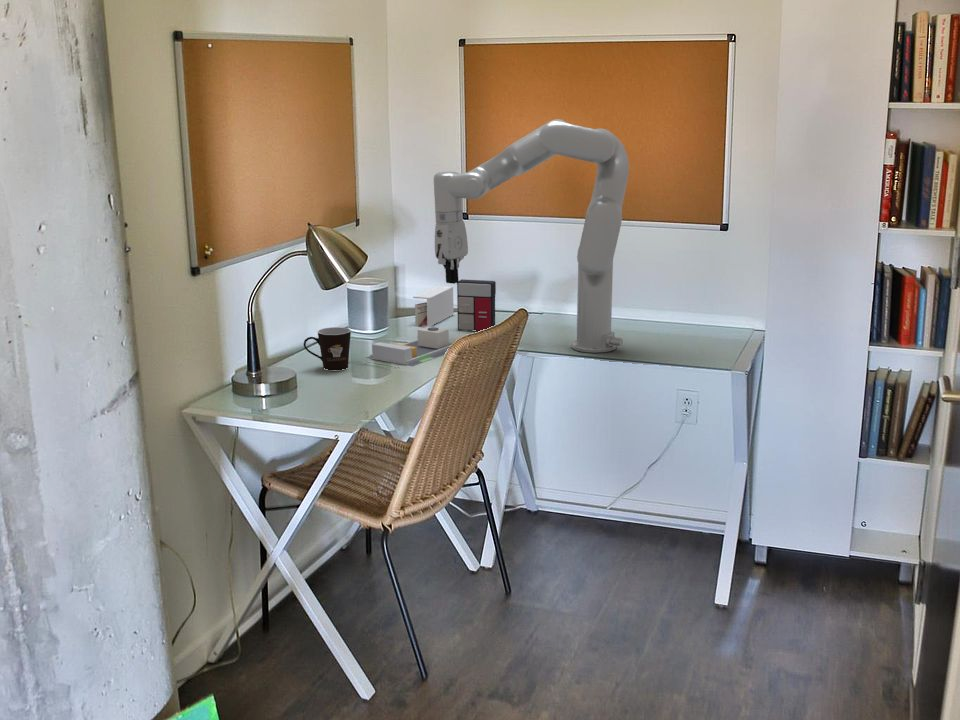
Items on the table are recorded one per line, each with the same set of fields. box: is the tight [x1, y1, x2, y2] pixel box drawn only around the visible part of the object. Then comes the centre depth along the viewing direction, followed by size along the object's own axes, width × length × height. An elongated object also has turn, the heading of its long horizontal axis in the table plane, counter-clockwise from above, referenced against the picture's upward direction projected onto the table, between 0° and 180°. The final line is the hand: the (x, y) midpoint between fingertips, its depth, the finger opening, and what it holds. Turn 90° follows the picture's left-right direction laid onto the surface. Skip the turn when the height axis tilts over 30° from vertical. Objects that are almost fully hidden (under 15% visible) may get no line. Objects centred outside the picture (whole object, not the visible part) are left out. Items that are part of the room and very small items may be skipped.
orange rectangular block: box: [393, 343, 417, 358], centre depth 287 cm, size 2×8×3 cm, turn 56°
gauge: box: [417, 326, 450, 349], centre depth 298 cm, size 5×7×5 cm
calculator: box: [456, 278, 497, 332], centre depth 320 cm, size 11×4×15 cm, turn 73°
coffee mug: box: [303, 326, 352, 371], centre depth 281 cm, size 12×9×10 cm
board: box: [365, 338, 452, 369], centre depth 292 cm, size 25×16×5 cm, turn 146°
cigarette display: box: [412, 285, 455, 328], centre depth 334 cm, size 20×6×9 cm, turn 159°
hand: (452, 282), depth 301 cm, fingers closed
